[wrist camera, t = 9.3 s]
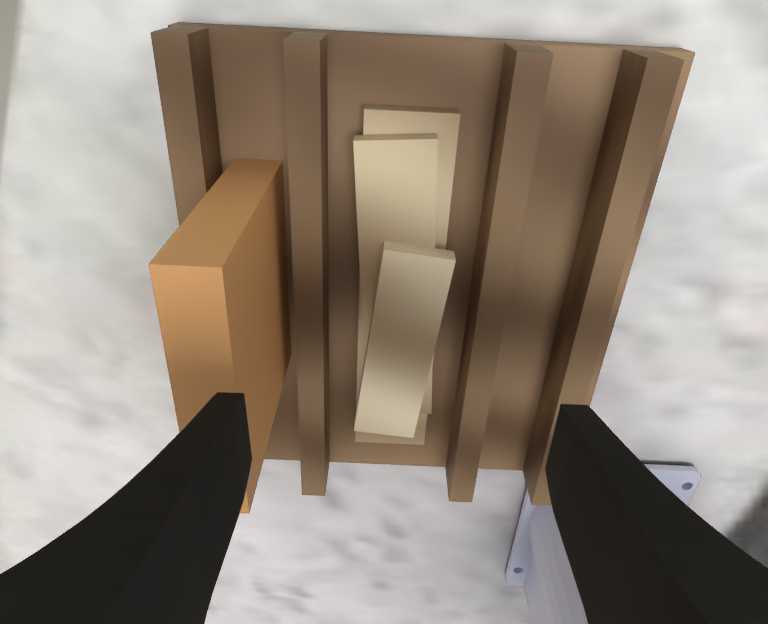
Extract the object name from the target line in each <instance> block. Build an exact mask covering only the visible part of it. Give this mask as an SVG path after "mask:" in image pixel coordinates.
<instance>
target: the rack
mask: <svg viewBox="0 0 768 624" xmlns="http://www.w3.org/2000/svg"><path fill="white" fill-rule="evenodd" d="M151 39H152V45H153V52H154V59H155V65H156V72H157V79H158V86H159V92H160V99H161V106H162V112H163V119H164V126H165V132H166V139H167V146H168V153H169V159H170V166H171V173H172V179H173V186H174V193H175V200H176V206H177V213H178V220H179V226H180V225H181V224H182V223H183V221H184V220H185V219H186V218H187V217H188V215H189V214H190V213H191V212H192V210H193V209H194V208H195V207H196V206H197V204H198V203H199V202H200V201H201V199H202V198H203V197H204V196H205V194H206V193H207V192H208V191H209V190H210V188H211V187H212V186H213V185H214V183H215V182H216V181H217V180H218V179H219V177H220V176H221V175H222V174H223V172H224V171H225V170H226V169H227V168H228V166H229V165H230V164H231V163H232V161H233V160H234V159H235V158H245V159H265V160H283V177H284V199H285V222H286V244H287V266H288V288H289V311H290V333H291V357H290V361H289V365H288V369H287V372H286V376H285V380H284V384H283V388H282V391H281V395H280V399H279V403H278V407H277V410H276V414H275V418H274V422H273V425H272V429H271V433H270V437H269V441H268V444H267V448H266V452H265V456H264V459H280V460H301V483H302V495H319V496H325V492H326V484H327V477H328V469H329V462H348V463H370V464H393V465H415V466H437V467H446V477H447V487H448V497H449V501H455V502H472V499H473V493H474V488H475V482H476V477H477V471H478V468H482V469H505V470H523V474H524V478H525V482H526V486H527V490H528V494H529V498H530V502H531V505H546V506H552V504H551V499H550V494H549V489H548V483H547V477H546V471H545V467H546V463H547V459H548V454H549V450H550V446H551V442H552V438H553V434H554V429H555V425H556V421H557V417H558V413H559V408H560V404H577V405H588V406H590V403H591V399H592V396H593V393H594V389H595V386H596V383H597V379H598V376H599V373H600V369H601V366H602V363H603V359H604V356H605V353H606V349H607V346H608V343H609V339H610V336H611V333H612V329H613V326H614V323H615V319H616V316H617V313H618V309H619V306H620V303H621V299H622V296H623V293H624V289H625V286H626V282H627V279H628V276H629V272H630V269H631V266H632V262H633V259H634V256H635V252H636V249H637V246H638V242H639V239H640V236H641V232H642V229H643V226H644V222H645V219H646V216H647V212H648V209H649V206H650V202H651V199H652V196H653V192H654V189H655V186H656V182H657V179H658V176H659V172H660V169H661V166H662V162H663V159H664V155H665V152H666V149H667V145H668V142H669V139H670V135H671V132H672V129H673V125H674V122H675V119H676V115H677V112H678V109H679V105H680V102H681V99H682V95H683V92H684V89H685V85H686V82H687V79H688V75H689V72H690V69H691V65H692V62H693V59H694V55H695V52H692V51H689V50H685V49H682V48H665V47H646V46H627V45H607V44H588V43H569V42H549V41H530V40H511V39H491V38H472V37H453V36H433V35H414V34H395V33H375V32H356V31H337V30H318V29H298V28H279V27H260V26H240V25H221V24H202V23H182V22H178V23H174V24H171V25H168V28H165V29H161V30H158V31H154V32H151ZM365 104H368V105H388V106H408V107H427V108H447V109H459V112H460V123H459V132H458V141H457V150H456V159H455V168H454V177H453V186H452V195H451V204H450V213H449V222H448V231H447V240H446V249H445V250H450V251H454V253H455V258H456V262H455V266H454V270H453V275H452V279H451V283H450V287H449V291H448V295H447V300H446V304H445V308H444V312H443V316H442V320H441V325H440V329H439V333H438V337H437V341H436V345H435V350H434V358H433V369H432V412H431V414H427V421H426V430H425V439H424V445H415V444H393V443H371V442H355V432H356V431H354V423H355V415H356V393H357V355H358V317H359V279H360V265H359V245H358V226H357V207H356V188H355V168H354V149H353V139H354V135H363V127H364V107H365Z"/></svg>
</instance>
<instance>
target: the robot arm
mask: <svg viewBox="0 0 768 624" xmlns="http://www.w3.org/2000/svg"><path fill="white" fill-rule="evenodd" d="M251 463H252V452H251V444H250V436H249V428H248V420H247V412H246V403H245V395H244V393H228V392H217V393H216V394H215V395H214V396H213V397H212V398H211V399H210V400H209V401H208V402H207V403H206V404H205V406H204V407H203V408H202V409H201V410H200V411H199V412H198V413H197V414H196V415H195V417H194V418H193V419H192V420H191V421H190V422H189V423H188V424H187V425H186V426H185V427H184V428H183V429H182V431H181V432H180V433H179V434H178V435H177V436H176V437H175V438H174V439H173V440H172V441H171V442H170V443H169V444H168V445H167V446H166V447H165V448H164V449H163V450H162V451H161V452H160V453H159V454H158V455H157V456H156V457H155V458H154V459H153V460H152V461H151V462H150V463H149V464H148V465H147V466H145V467H144V468H143V469H142V470H141V471H140V472H139V473H138V474H137V475H136V476H135V477H134V478H133V479H131V480H130V481H129V482H128V483H127V484H126V485H125V486H124V487H123V488H121V489H120V490H119V491H118V492H117V493H116V494H114V495H113V496H112V497H111V498H110V499H108V500H107V501H106V502H105V503H104V504H102V505H101V506H100V507H99V508H97V509H96V510H95V511H93V512H92V513H91V514H90V515H88V516H87V517H86V518H84V519H83V520H82V521H80V522H79V523H78V524H76V525H75V526H73V527H72V528H71V529H69V530H68V531H66V532H65V533H63V534H62V535H60V536H59V537H58V538H56V539H55V540H53V541H52V542H50V543H49V544H47V545H46V546H45V547H43V548H42V549H40V550H39V551H37V552H36V553H34V554H32V555H31V556H29V557H28V558H26V559H24V560H23V561H21V562H20V563H18V564H16V565H15V566H13V567H12V568H10V569H8V570H7V571H5V572H3V573H2V574H0V624H204V622H205V618H206V614H207V610H208V607H209V603H210V600H211V597H212V593H213V590H214V587H215V584H216V581H217V578H218V575H219V572H220V569H221V566H222V564H223V561H224V558H225V555H226V552H227V549H228V546H229V543H230V540H231V537H232V534H233V531H234V528H235V525H236V522H237V519H238V516H239V513H240V510H241V507H242V504H243V501H244V497H245V492H246V488H247V483H248V478H249V473H250V468H251ZM545 471H546V477H547V483H548V489H549V494H550V499H551V504H552V506H546V505H531V502H530V498H529V494H528V490H526V494H525V498H524V502H523V506H522V510H521V514H520V518H519V522H518V526H517V530H516V534H515V538H514V542H513V546H512V550H511V554H510V558H509V562H508V566H507V570H506V574H505V579H506V583H507V584H508V585H510V586H514V587H524V588H525V593H526V598H527V603H528V607H529V612H530V617H531V622H532V624H768V568H766V567H765V566H763V565H762V564H761V563H759V562H758V561H756V560H755V559H753V558H752V557H751V556H749V555H748V554H747V553H745V552H744V551H743V550H741V549H740V548H739V547H737V546H736V545H735V544H733V543H732V542H731V541H729V540H728V539H727V538H726V537H724V536H723V535H722V534H721V533H719V532H718V531H717V530H716V529H714V528H713V527H712V526H711V525H709V524H708V523H707V522H706V521H704V520H703V519H702V518H701V517H700V516H698V515H697V514H696V513H695V512H694V511H693V510H691V509H690V508H689V507H688V504H689V502H690V500H691V498H692V495H693V493H694V491H695V489H696V487H697V485H698V483H699V481H700V478H701V475H700V473H699V471H698V470H697V468H695V467H693V466H677V465H655V464H643V463H642V462H641V461H640V460H639V459H638V458H637V457H636V456H635V455H634V454H633V453H632V452H631V451H630V450H629V449H628V448H627V447H626V446H625V445H624V444H623V442H622V441H621V440H620V439H619V438H618V437H617V436H616V435H615V434H614V433H613V432H612V431H611V430H610V428H609V427H608V426H607V425H606V424H605V423H604V422H603V421H602V420H601V419H600V418H599V417H598V415H597V414H596V413H595V412H594V411H593V410H592V409H591V408H590V407H589V406H588V405H577V404H560V408H559V413H558V417H557V421H556V425H555V429H554V434H553V438H552V442H551V446H550V450H549V454H548V459H547V463H546V467H545Z"/></svg>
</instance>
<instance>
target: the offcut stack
mask: <svg viewBox="0 0 768 624" xmlns="http://www.w3.org/2000/svg"><path fill="white" fill-rule="evenodd" d="M459 123H460V112H459V109H447V108H427V107H408V106H388V105H368V104H365V107H364V127H363V135H354V139H353V149H354V168H355V188H356V207H357V226H358V245H359V265H360V279H359V317H358V355H357V393H356V415H355V423H354V431H356V432H355V442H371V443H393V444H415V445H424V439H425V430H426V421H427V414H431V412H432V369H433V358H434V350H435V345H436V341H437V337H438V333H439V329H440V325H441V320H442V316H443V312H444V308H445V304H446V300H447V295H448V291H449V287H450V283H451V279H452V275H453V270H454V266H455V262H456V258H455V253H454V251H450V250H445V249H446V240H447V231H448V222H449V213H450V204H451V195H452V186H453V177H454V168H455V159H456V150H457V141H458V132H459Z"/></svg>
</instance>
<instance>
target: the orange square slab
mask: <svg viewBox="0 0 768 624" xmlns="http://www.w3.org/2000/svg"><path fill="white" fill-rule="evenodd" d="M149 269H150V274H151V279H152V285H153V290H154V296H155V301H156V307H157V312H158V318H159V323H160V328H161V334H162V339H163V345H164V350H165V356H166V361H167V366H168V372H169V377H170V383H171V388H172V394H173V399H174V404H175V410H176V415H177V421H178V426H179V432H181V431H182V429H183V428H184V427H185V426H186V425H187V424H188V423H189V422H190V421H191V420H192V419H193V418H194V417H195V415H196V414H197V413H198V412H199V411H200V410H201V409H202V408H203V407H204V406H205V404H206V403H207V402H208V401H209V400H210V399H211V398H212V397H213V396H214V395H215V394H216V393H217V392H228V393H244V395H245V403H246V412H247V420H248V428H249V436H250V444H251V452H252V463H251V468H250V473H249V478H248V483H247V488H246V492H245V497H244V501H243V504H242V507H241V510H240V513H249V512H250V509H251V505H252V501H253V497H254V493H255V490H256V486H257V482H258V478H259V475H260V471H261V467H262V463H263V459H264V456H265V452H266V448H267V444H268V441H269V437H270V433H271V429H272V425H273V422H274V418H275V414H276V410H277V407H278V403H279V399H280V395H281V391H282V388H283V384H284V380H285V376H286V372H287V369H288V365H289V361H290V357H291V333H290V311H289V288H288V266H287V244H286V222H285V199H284V177H283V160H265V159H245V158H235V159H234V160H233V161H232V163H231V164H230V165H229V166H228V168H227V169H226V170H225V171H224V172H223V174H222V175H221V176H220V177H219V179H218V180H217V181H216V182H215V183H214V185H213V186H212V187H211V188H210V190H209V191H208V192H207V193H206V194H205V196H204V197H203V198H202V199H201V201H200V202H199V203H198V204H197V206H196V207H195V208H194V209H193V210H192V212H191V213H190V214H189V215H188V217H187V218H186V219H185V220H184V221H183V223H182V224H181V225H180V226H179V228H178V229H177V230H176V231H175V232H174V234H173V235H172V236H171V237H170V239H169V240H168V241H167V242H166V244H165V245H164V246H163V247H162V248H161V250H160V251H159V252H158V253H157V255H156V256H155V257H154V258H153V259H152V261H151V262H150V263H149Z"/></svg>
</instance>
